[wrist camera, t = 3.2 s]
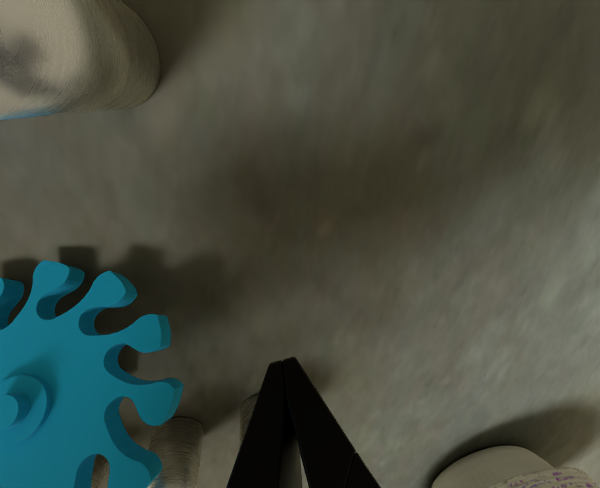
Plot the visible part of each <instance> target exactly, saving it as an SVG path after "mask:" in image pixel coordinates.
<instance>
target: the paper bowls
mask: <svg viewBox="0 0 600 488" xmlns="http://www.w3.org/2000/svg"><path fill="white" fill-rule="evenodd" d="M432 488H598V486H597V485H596V483H594V482H593V481H592V480H591V479H590V478H589V476H588V475H587V474H586V473H585V472H583V471H582V470H579V469H577V468H573V467H565V468H554V467H553V466H552V465H550V464H549V463H547V462H546V461H545V460H543V459H542V458H540V457H539V456H537V455H536V454H535V453H533V452H531V451H529V450H527V449H525V448H522V447H517V446H497V447H491V448H487V449H484V450H481V451H477V452H475V453H472V454H470V455H468V456H465V457H463V458H461V459H459V460H458V461H456V462H454V463H453V464H451V465H450V466H449V467H447V468H446V469H445V470H444V471H443V472H441V473H440V474H439V476H438V477H437V478H436V479H435V481H434V483H433V485H432Z"/></svg>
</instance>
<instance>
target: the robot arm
mask: <svg viewBox="0 0 600 488" xmlns="http://www.w3.org/2000/svg"><path fill="white" fill-rule="evenodd" d="M300 455H301V458H302V462H303V466H304V470H305V474H306V478H307V481H308V485H309V488H381V487H380V486H379V484H378V483H377V481H376V480H375V478H374V477H373V476H372V474H371V473H370V471H369V470H368V468H367V467H366V465H365V464H364V462H363V461H362V459H361V458H360V456H359V454H358V453H356V450H355V449H354V447H353V445H352V444H351V442H350V441H349V439H348V438H347V436H346V435H345V433H344V432H343V430H342V428H341V427H340V425H339V424H338V422H337V421H336V419H335V418H334V416H333V415H332V413H331V411H330V410H329V408H328V407H327V405H326V404H325V402H324V401H323V399H322V398H321V396H320V394H319V393H318V391H317V390H316V388H315V387H314V385H313V384H312V382H311V381H310V379H309V377H308V376H307V374H306V373H305V371H304V370H303V368H302V367H301V365H300V364H299V362H298V360H297V359H296V358H295V357H291V358H287V359H284V360H283V361H281V360H280V361H276V362H272V363H270V364H269V366H268V369H267V372H266V375H265V378H264V380H263V383H262V386H261V389H260V392H259V395H258V398H257V401H256V404H255V406H254V409H253V412H252V415H251V418H250V421H249V424H248V427H247V429H246V432H245V435H244V438H243V441H242V444H241V447H240V450H239V452H238V455H237V458H236V461H235V464H234V467H233V470H232V473H231V476H230V478H229V481H228V484H227V487H226V488H302V475H301V461H300Z"/></svg>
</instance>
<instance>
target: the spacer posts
mask: <svg viewBox="0 0 600 488" xmlns="http://www.w3.org/2000/svg"><path fill="white" fill-rule="evenodd" d="M159 77H160V58H159V52H158V49H157V46H156V43H155V41H154V38H153V36H152V34H151V33H150V31H149V29H148V28H147V26H146V25H145V23H144V22H143V21H142V20H141V18H140V17H139V16H138V15H137V14H136V13H135V12H134V11H133V10H132V9H131V8H129V7H128V6H127V5H126V4H124V3H123V2H122V1H120V0H0V120H5V119H16V118H27V117H38V116H49V115H60V114H71V113H82V112H92V111H103V110H114V109H125V108H132V107H135V106H138V105H140V104H142V103H143V102H145V101H146V100H147V99H148V98H149V97H150V96H151V95H152V94H153V92H154V91H155V89H156V87H157V84H158V81H159ZM258 395H259V394H257V395H255V396H252V397H250V398H249V399H247V400H246V401H245V402H244V403H243V404H242V406H241V411H240V443H239V450H240V447H241V444H242V441H243V438H244V435H245V432H246V429H247V427H248V424H249V421H250V418H251V415H252V412H253V409H254V406H255V404H256V401H257V398H258ZM203 435H204V428H203V426H202V424H201V423H199V422H198V421H196V420H194V419H191V418H185V417H176V418H170V419H169V420H167V421H166V422H164V423H163V424H162V425H158V426H155V428H154V430H153V433H152V436H151V440H150V443H149V447H148V450H149V451H152V452H154V453H155V454H157V455H158V457H159V458H160V460H161V462H162V467H163V469H162V470H161V472H160V473H159V474H158V476H157V477H156V479H155V480H154V481H153V482H152V483H151V484H150V485H149V487H148V488H196V485H197V478H198V471H199V464H200V456H201V449H202V442H203ZM108 464H109V462H108V460H107V459H106V457H104V456H103V455H101V454H97V455H96V457H95V461H94V466H93V472H92V482H91V488H99V487H100V484H101V482H102V479H103V476H104V474H105V471H106V469H107V466H108Z"/></svg>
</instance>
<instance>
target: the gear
mask: <svg viewBox="0 0 600 488" xmlns="http://www.w3.org/2000/svg"><path fill="white" fill-rule="evenodd" d="M84 277H85V272H83V271H82V270H80V269H78V268H75V267H72V266H68V265H65V264H62V263H58V262H53V261H45V260H43V261H42V262H41V263H39V265H38V266H37V267H36V269H35V271H34V274H33V285H32V291H31V293H30V296H29V299H28V301H27V303H26V304H25V306H24V308H23V309H22V310H21V312H20V313H19V314H18V316H17V317H16V318H15V319H14V321H13V322H12V323H11V324H10V325H9V324H8V317H9V315H10V313H11V311H12V310H13V309H14V307H15V306H16V305H17V304H18V303H19V301H20V300H21V298H22V296H23V293H24V285H23V283H22V282H21V281H16V280H10V279H5V278H0V488H91V482H92V472H93V466H94V461H95V457H96V455H97V454H101V455H103V456H104V457H106V459H107V460H108V462H109V465H110V474H109V481H108V488H148V487H149V485H150V484H151V483H152V482H153V481H154V480H155V479H156V477H157V476H158V474H159V473H160V472H161V470H162V469H163V467H162V462H161V460H160V458H159V457H158V455H157V454H155V453H154V452H152V451H149V450H146V449H144V448H142V447H140V446H139V445H137V444H136V443H135V442H134V441H133V440H132V439H131V438H130V436H129V435H128V434H127V432H126V430H125V428H124V425H123V423H122V420H121V418H120V414H119V406H120V403H121V401H122V399H123V398H124V397H128V398H130V399H131V400H132V401H133V402H134V404H135V406H136V408H137V411H138V413H139V416H140V418H141V419H142V420H143V421H144V422H145V423H146V424H148V425H151V426H158V425H162V424H163V423H164V422H166V421H167V420H169V419H170V418H172V416H173V415H174V413H175V411H176V409H177V407H178V405H179V402H180V399H181V395H182V391H183V386H184V384H183V383H182V382H181V381H179V380H178V379H175V378H167V379H163V380H158V381H145V380H141V379H138V378H136V377H134V376H132V375H130V374H129V373H127V372H126V371H124V370H123V369H121V368H120V366H119V364H118V355H119V352H120V351H121V349H122V348H123V347H124V346H125V345H129V346H131V347H132V348H134V349H136V350H137V351H139V352H143V353H147V352H155V351H160V350H164V349H165V348H167V347H168V346H170V342H171V330H170V325H169V321H168V318H167V316H164V315H156V314H148V315H144V316H142V317H140V318H139V319H138V320H136V321H135V322H134V323H133V324H132V325H130V326H129V327H127V328H125V329H123V330H121V331H119V332H116V333H113V334H109V335H101V334H99V333H98V332H97V331H96V330H95V327H94V321H95V318H96V316H97V315H98V313H99V312H101V311H102V310H104V309H106V308H120V307H125V306H127V305H129V304H131V303H132V302H133V301H134V300H135V298H136V297H137V295H138V294H137V291H136V289H135V287H134V286H133V284H132V283H131V282H130V281H129V280H128V279H127V278H125V277H124V276H123V275H121V274H118V273H115V272H112V271H107V272H104V273H102V274H101V275H99V276H98V277H97V278H96V280H95V281H94V282H93V285H92V287H91V289H90V290H89V292H88V293H87V294H86V296H85V297H84V298H83V299H82V300H81V301H80V302H79V303H78V304H77V305H76V306H75V307H73V308H72V309H70V310H69V311H67V312H66V313H64V314H62V315H60V316H58V317H56V315H55V306H56V304H57V302H58V301H59V300H60V299H61V298H62V297H63V296H65V295H67V294H69V293H71V292H73V291H74V290H76V289H77V288H78V287H79V286H80V285H81V284H82V282H83V280H84Z"/></svg>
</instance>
